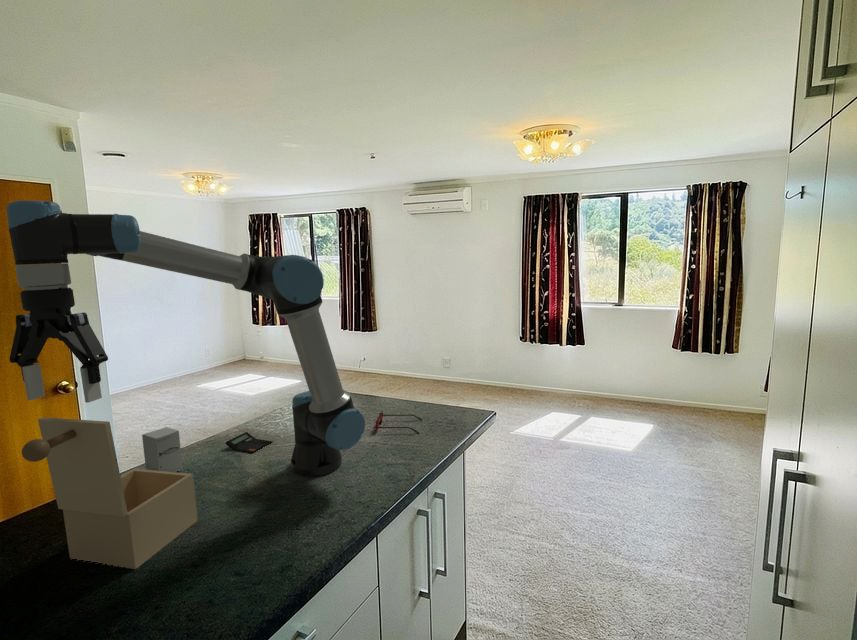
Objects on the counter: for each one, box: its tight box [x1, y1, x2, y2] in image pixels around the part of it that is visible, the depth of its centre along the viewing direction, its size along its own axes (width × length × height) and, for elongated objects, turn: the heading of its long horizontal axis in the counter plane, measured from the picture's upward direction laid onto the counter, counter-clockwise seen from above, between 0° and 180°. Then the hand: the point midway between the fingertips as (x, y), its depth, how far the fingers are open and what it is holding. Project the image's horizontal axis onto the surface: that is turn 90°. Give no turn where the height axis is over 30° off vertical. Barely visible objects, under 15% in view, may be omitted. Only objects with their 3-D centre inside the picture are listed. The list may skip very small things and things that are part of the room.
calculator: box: [225, 431, 274, 454], centre depth 157 cm, size 9×12×3 cm
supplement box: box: [141, 426, 184, 473], centre depth 138 cm, size 7×7×13 cm
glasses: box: [373, 410, 423, 435], centre depth 171 cm, size 14×16×5 cm
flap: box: [21, 416, 128, 517], centre depth 88 cm, size 17×20×10 cm
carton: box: [62, 468, 198, 570], centre depth 105 cm, size 17×18×12 cm
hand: (64, 399), depth 87 cm, fingers open, 13 cm apart
